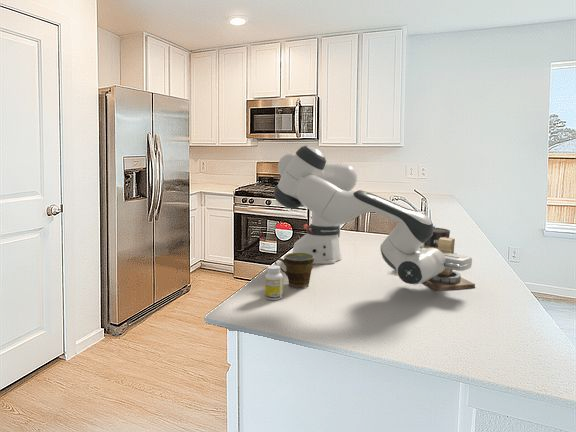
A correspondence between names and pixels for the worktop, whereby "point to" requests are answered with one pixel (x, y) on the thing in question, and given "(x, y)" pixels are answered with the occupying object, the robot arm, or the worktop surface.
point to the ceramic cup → (298, 269)
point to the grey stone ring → (447, 278)
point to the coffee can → (436, 238)
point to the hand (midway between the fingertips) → (446, 254)
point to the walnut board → (450, 285)
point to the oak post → (446, 250)
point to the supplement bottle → (273, 283)
